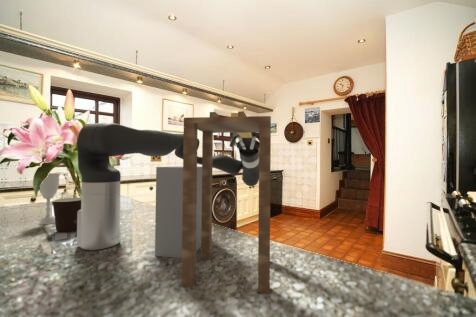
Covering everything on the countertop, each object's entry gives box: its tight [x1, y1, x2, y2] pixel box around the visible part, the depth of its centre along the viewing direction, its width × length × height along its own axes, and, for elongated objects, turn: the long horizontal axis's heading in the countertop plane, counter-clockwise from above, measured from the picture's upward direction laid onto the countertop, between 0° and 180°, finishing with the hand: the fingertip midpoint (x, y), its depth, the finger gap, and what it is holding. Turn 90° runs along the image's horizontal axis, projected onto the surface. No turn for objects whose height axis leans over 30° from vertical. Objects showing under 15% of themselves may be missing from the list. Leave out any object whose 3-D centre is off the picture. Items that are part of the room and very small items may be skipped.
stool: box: [181, 110, 272, 295], centre depth 48 cm, size 16×14×32 cm
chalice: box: [38, 172, 61, 226], centre depth 85 cm, size 7×7×18 cm
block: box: [154, 165, 202, 259], centre depth 62 cm, size 9×14×22 cm, turn 172°
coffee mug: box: [52, 197, 81, 234], centre depth 78 cm, size 12×9×10 cm
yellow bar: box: [230, 112, 252, 138], centre depth 68 cm, size 4×22×4 cm, turn 172°
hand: (245, 126), depth 75 cm, fingers closed on yellow bar, 3 cm apart
